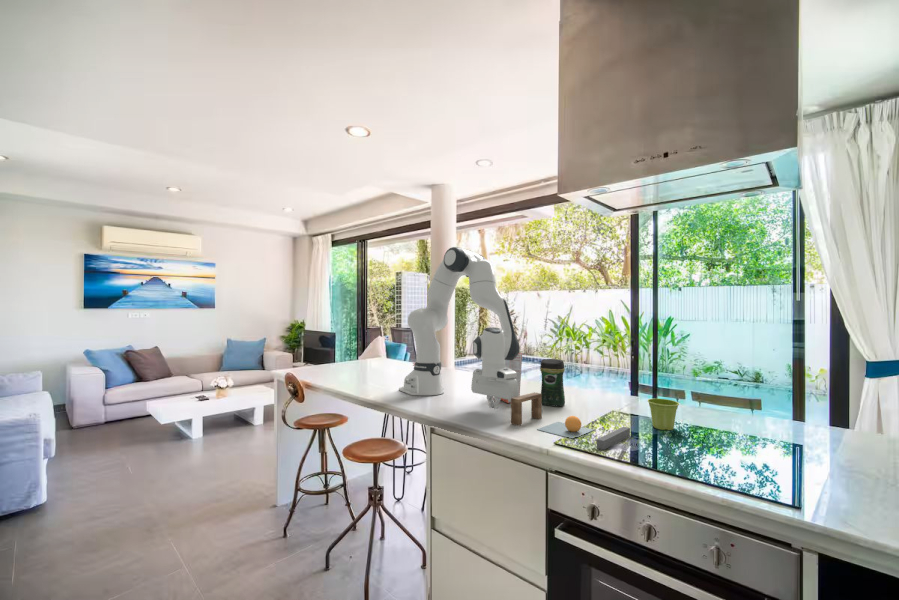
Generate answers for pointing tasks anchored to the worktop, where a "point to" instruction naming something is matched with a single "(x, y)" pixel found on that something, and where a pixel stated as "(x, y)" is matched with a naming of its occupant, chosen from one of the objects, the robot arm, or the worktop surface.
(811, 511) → the worktop surface
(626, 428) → the wall
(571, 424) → the ball
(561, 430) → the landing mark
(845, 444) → the worktop surface
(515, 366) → the cracker box
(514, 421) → the bridge
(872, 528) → the worktop surface
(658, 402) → the plant pot
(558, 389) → the coffee jar
